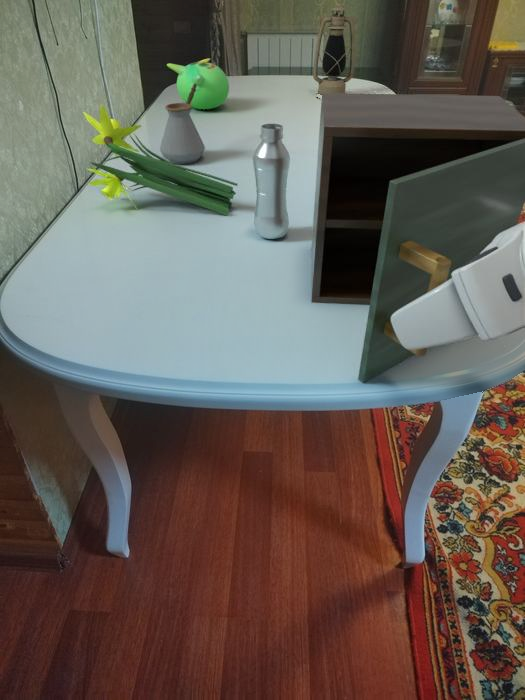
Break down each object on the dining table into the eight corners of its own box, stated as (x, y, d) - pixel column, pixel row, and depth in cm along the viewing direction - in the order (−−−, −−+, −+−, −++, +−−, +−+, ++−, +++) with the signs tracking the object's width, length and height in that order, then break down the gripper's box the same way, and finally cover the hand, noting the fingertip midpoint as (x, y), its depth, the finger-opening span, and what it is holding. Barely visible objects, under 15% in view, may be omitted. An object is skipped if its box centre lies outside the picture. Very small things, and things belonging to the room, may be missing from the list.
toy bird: (239, 108, 172) (238, 59, 163) (203, 118, 162) (199, 66, 153) (202, 99, 181) (199, 53, 172) (166, 109, 171) (161, 59, 162)
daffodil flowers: (216, 236, 100) (47, 176, 99) (224, 241, 114) (77, 189, 113) (244, 151, 97) (71, 89, 97) (248, 168, 112) (98, 114, 111)
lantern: (347, 92, 190) (356, -5, 172) (354, 99, 181) (365, -2, 162) (309, 92, 190) (314, -5, 171) (314, 100, 180) (320, -2, 161)
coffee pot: (198, 168, 127) (193, 103, 117) (154, 165, 129) (146, 101, 119) (220, 142, 143) (217, 83, 134) (181, 140, 145) (175, 81, 135)
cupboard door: (521, 332, 74) (596, 147, 57) (397, 409, 61) (446, 203, 45) (481, 310, 78) (539, 133, 61) (357, 379, 66) (389, 180, 49)
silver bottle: (282, 245, 95) (285, 133, 82) (248, 239, 97) (246, 129, 84) (292, 231, 99) (297, 123, 87) (260, 225, 101) (260, 119, 89)
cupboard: (482, 310, 78) (541, 131, 62) (311, 303, 80) (324, 126, 63) (456, 254, 92) (499, 95, 75) (311, 249, 94) (321, 92, 77)
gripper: (582, 208, 49) (469, 259, 61) (451, 272, 39) (347, 317, 51) (609, 267, 49) (491, 306, 61) (485, 346, 39) (373, 374, 51)
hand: (424, 312), depth 56 cm, fingers closed, pressing on cupboard door
